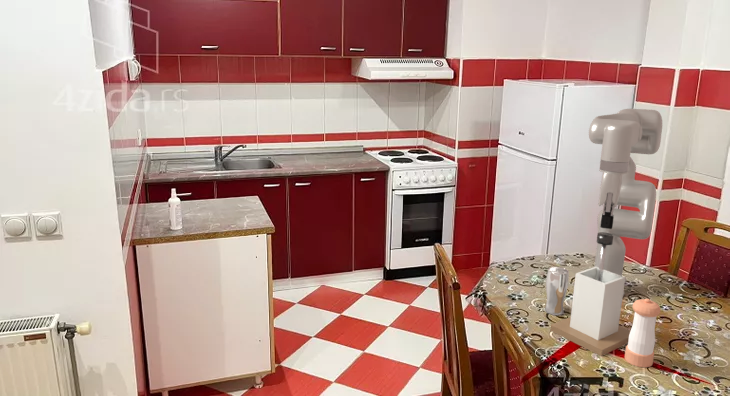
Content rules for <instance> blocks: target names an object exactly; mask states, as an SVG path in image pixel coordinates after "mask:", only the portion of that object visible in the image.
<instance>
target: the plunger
mask: <svg viewBox="0 0 730 396" xmlns="http://www.w3.org/2000/svg"><path fill="white" fill-rule="evenodd" d="M613 236H614V235H613V234H610V233H606V232H600V233H598V232H597V237H596V244H597V243H599V244H602V246H601V254H600V262H599V270H598V278H597V281H600V282H602V279H603V271H604V263H605V255H606V247H607V245H612V244H613Z"/></svg>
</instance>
